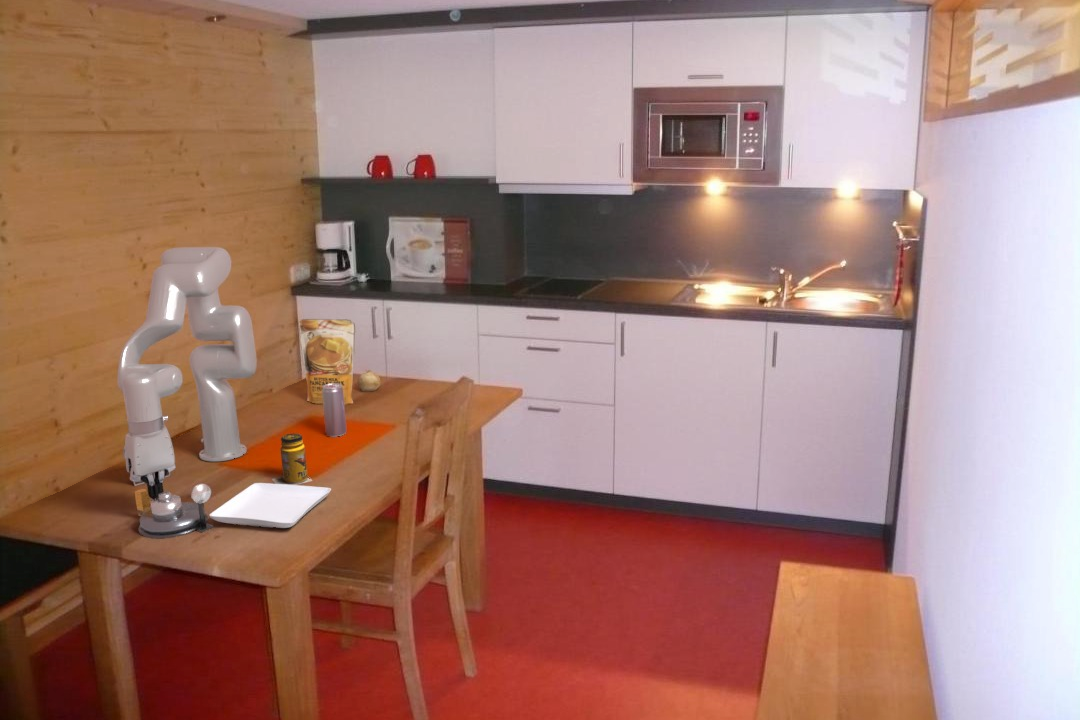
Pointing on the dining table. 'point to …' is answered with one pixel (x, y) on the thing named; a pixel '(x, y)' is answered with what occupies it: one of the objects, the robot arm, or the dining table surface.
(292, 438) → the condiment
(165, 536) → the turntable base
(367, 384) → the onion
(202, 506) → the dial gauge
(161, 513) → the cover
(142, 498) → the turntable
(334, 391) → the beverage can
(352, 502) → the dining table surface
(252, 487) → the salad plate
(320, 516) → the dining table surface
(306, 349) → the pancake mix bag
